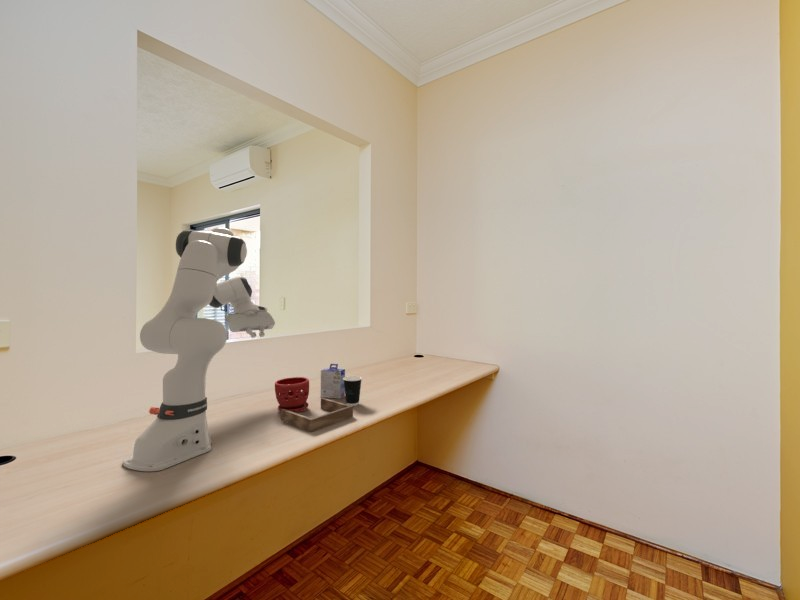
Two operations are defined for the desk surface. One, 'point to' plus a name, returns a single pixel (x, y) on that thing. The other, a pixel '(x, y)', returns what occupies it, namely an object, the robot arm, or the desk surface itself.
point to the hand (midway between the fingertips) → (258, 336)
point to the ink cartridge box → (332, 382)
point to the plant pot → (292, 393)
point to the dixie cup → (352, 389)
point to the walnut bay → (312, 424)
